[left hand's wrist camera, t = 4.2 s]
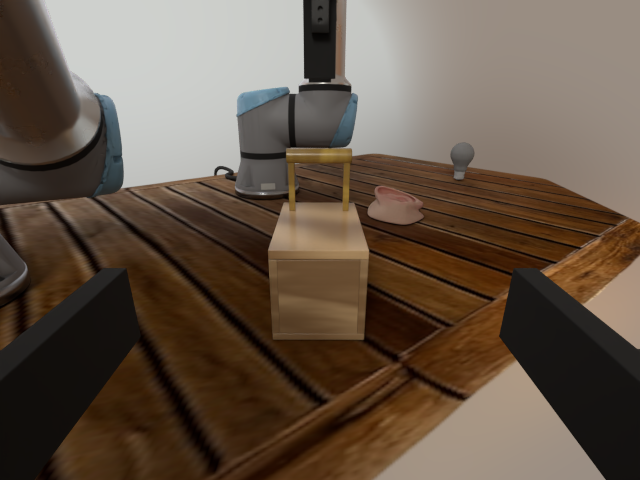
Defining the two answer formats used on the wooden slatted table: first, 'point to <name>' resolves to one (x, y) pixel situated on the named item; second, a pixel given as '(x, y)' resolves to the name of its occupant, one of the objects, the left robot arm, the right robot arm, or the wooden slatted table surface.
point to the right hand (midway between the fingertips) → (319, 81)
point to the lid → (318, 217)
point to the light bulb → (461, 159)
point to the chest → (318, 299)
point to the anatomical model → (395, 206)
